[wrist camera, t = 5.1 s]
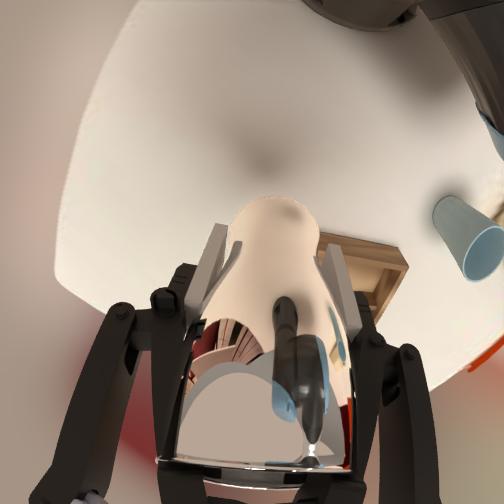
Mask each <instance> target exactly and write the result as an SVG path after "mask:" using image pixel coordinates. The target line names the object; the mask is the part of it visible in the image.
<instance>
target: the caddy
mask: <svg viewBox="0 0 504 504" xmlns="http://www.w3.org/2000/svg"><path fill="white" fill-rule="evenodd" d="M319 233H320V242H319V249H318V260H319V264H320V267H321V264H322V261H323V258H324V255H325V252H326V250H327V247H328V244H329V243H331V244H336V245H340V247H341V250H342V253H343V256H344V260H345V263H346V266H347V270H348V273H349V277H350V280H351V284H352V287H353V291H360V292H363V294H364V295H365V296H366V298H367V299H368V303H369V307H370V309H371V313H372V316H373V320H374V323H375V325H376V324H377V322H378V321H379V319H380V317H381V316H382V314H383V313H384V311H385V309H386V308H387V306H388V304H389V303H390V301H391V299H392V298H393V296H394V294H395V292H396V291H397V289H398V287H399V285H400V283H401V282H402V280H403V278H404V276H405V274H406V272H407V270H408V269H409V266H408V264H407V262H406V260H405V259H404V257H403V255H402V254H401V252H400V250H399V249H398V248H397V247H392V246H388V245H383V244H378V243H373V242H369V241H364V240H359V239H354V238H349V237H344V236H339V235H333V234H328V233H323V232H319Z"/></svg>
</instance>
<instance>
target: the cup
mask: <svg viewBox="0 0 504 504" xmlns="http://www.w3.org/2000/svg"><path fill="white" fill-rule="evenodd" d="M433 223H434V225H435V227H436V229H437V230H438V232H439V233H440V235H441V237H442V238H443V240H444V241H445V243H446V245H447V246H448V248H449V250H450V251H451V253H452V255H453V257H454V258H455V260H456V262H457V264H458V266H459V268H460V269H461V271H462V273H463V275H464V277H465V278H466V279H467V280H468V281H470V282H478V281H481V280H484V279H486V278H487V277H489V276H490V275H491V274H492V273H493V272H494V271H495V270H496V269H497V268H498V266H499V265H500V264H501V262H502V260H503V258H504V228H503V227H501V226H500V225H499V224H497V223H496V222H494V221H493V220H491V219H489V218H488V217H486V216H485V215H483V214H482V213H480V212H479V211H477V210H476V209H474V208H473V207H471V206H469V205H468V204H466V203H465V202H463V201H461V200H460V199H458V198H456V197H454V196H447V197H445V198H443V199H442V200H440V201H439V203H438V204H437V205H436V207H435V209H434V212H433Z"/></svg>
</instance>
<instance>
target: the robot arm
mask: <svg viewBox="0 0 504 504" xmlns="http://www.w3.org/2000/svg"><path fill="white" fill-rule="evenodd" d="M303 1H304V2H305V3H306V4H307V5H308V6H309V7H310V8H312V9H313V10H314V11H316V12H317V13H319V14H320V15H322V16H324V17H325V18H327V19H329V20H331V21H333V22H335V23H338V24H340V25H343V26H346V27H349V28H352V29H356V30H362V31H370V32H381V31H388V30H392V29H395V28H397V27H400V26H402V25H405V24H407V23H408V22H410V21H411V20H412V19H414V18H415V17H416V15H417V14H418V13H419V11H420V9H422V11H423V12H424V13H425V14H426V16H427V17H428V19H429V20H430V22H431V23H432V25H433V26H434V27H435V29H436V30H437V32H438V33H439V35H440V36H441V38H442V39H443V41H444V42H445V44H446V45H447V47H448V49H449V50H450V52H451V54H452V55H453V57H454V59H455V60H456V62H457V64H458V66H459V68H460V69H461V71H462V73H463V75H464V77H465V79H466V81H467V83H468V85H469V87H470V89H471V91H472V93H473V95H474V98H475V100H476V102H475V104H476V107H477V110H478V112H479V114H480V116H481V118H482V119H483V121H484V122H485V124H486V126H487V128H488V131H489V133H490V135H491V138H492V141H493V143H494V146H495V148H496V150H497V152H498V154H499V155H500V157H501V158H502V159H503V161H504V0H303ZM227 228H228V225H223V224H217V223H215V226H214V228H213V230H212V233H211V235H210V237H209V240H208V242H207V244H206V247H205V249H204V252H203V254H202V256H201V259H200V261H199V264H198V266H197V265H192V264H186V263H183V264H182V265H180V266H179V267H178V268H177V269H176V271H175V273H174V276H173V277H172V279H171V281H170V284H169V286H168V287H163V288H159V289H157V290H155V291H154V292H153V293H152V294H151V297H150V301H151V307H152V308H151V309H143V310H135V309H134V307H133V306H132V305H131V304H129V303H127V302H119V303H116V304H114V305H113V306H111V308H110V309H109V310H108V312H107V314H106V317H105V319H104V321H103V323H102V325H101V327H100V329H99V332H98V334H97V336H96V338H95V341H94V343H93V345H92V347H91V350H90V352H89V355H88V357H87V359H86V362H85V364H84V367H83V369H82V372H81V375H80V377H79V379H78V382H77V385H76V387H75V390H74V393H73V396H72V398H71V401H70V404H69V407H68V410H67V413H66V416H65V420H64V423H63V426H62V429H61V432H60V436H59V439H58V443H57V447H56V450H55V455H54V458H53V462H52V465H51V467H50V468H49V469H48V471H47V472H46V473H45V475H44V476H43V478H42V479H41V480H40V482H39V483H38V485H37V486H36V487H35V489H34V490H33V492H32V493H31V494H30V497H29V504H108V503H107V502H106V501H105V500H104V497H105V495H106V493H107V490H108V488H109V485H110V481H111V476H112V471H113V466H114V461H115V456H116V451H117V446H118V442H119V437H120V433H121V429H122V425H123V420H124V416H125V412H126V408H127V405H128V401H129V397H130V393H131V390H132V386H133V383H134V379H135V375H136V372H137V369H138V365H139V362H140V358H141V356H142V352H143V351H150V350H151V373H152V399H153V417H154V430H155V441H156V451H157V459H158V456H159V453H160V449H161V444H162V438H163V432H164V426H165V419H166V413H167V407H168V402H169V397H170V392H171V387H172V382H173V378H174V374H175V371H176V367H177V363H178V360H179V356H180V352H181V350H182V347H183V344H184V337H185V334H187V331H188V329H189V327H190V325H191V323H192V321H193V319H194V317H195V315H196V313H197V311H198V309H199V307H200V306H201V304H202V302H203V300H204V298H205V297H206V295H207V293H208V292H209V290H210V288H211V287H212V285H213V283H214V282H215V280H216V278H217V277H218V275H219V274H220V272H221V270H222V266H223V263H224V256H225V246H226V237H227ZM321 269H322V272H323V274H324V276H325V278H326V280H327V283H328V285H329V287H330V289H331V291H332V293H333V296H334V298H335V300H336V302H337V305H338V307H339V309H340V312H341V314H342V317H343V320H344V323H345V326H346V329H347V331H348V334H349V337H350V342H351V346H352V351H353V356H354V361H355V366H356V373H357V382H358V392H359V410H360V440H359V472H360V475H359V476H358V477H355V478H351V477H349V476H348V475H341V474H308V475H307V478H306V480H305V482H304V483H303V485H302V486H301V487H300V488H299V490H298V491H297V493H296V495H295V498H294V500H293V502H292V503H280V504H363V501H364V498H365V494H366V490H367V487H366V484H365V482H364V481H363V478H364V473H365V470H366V466H367V462H368V459H369V454H370V450H371V446H372V442H373V437H374V432H375V427H376V422H377V417H378V419H379V442H380V483H379V504H442V503H441V500H440V497H439V470H438V455H437V445H436V436H435V427H434V421H433V414H432V408H431V402H430V397H429V391H428V386H427V382H426V377H425V373H424V368H423V364H422V360H421V356H420V353H419V351H418V349H417V348H416V347H415V346H413V345H411V344H408V343H407V344H403V345H401V347H400V348H397V347H394V346H391V345H389V344H387V343H386V341H385V339H384V337H383V336H382V335H381V334H380V333H378V332H377V331H376V327H375V323H374V320H373V316H372V313H371V309H370V307H369V303H368V299H367V298H366V296H365V295H364V294H363V292H360V291H353V287H352V284H351V280H350V277H349V273H348V270H347V266H346V263H345V260H344V256H343V253H342V250H341V247H340V245H336V244H331V243H329V244H328V247H327V250H326V252H325V255H324V258H323V261H322V264H321ZM157 477H158V485H159V492H160V497H161V503H162V504H246V503H243V502H240V501H237V500H232V499H224V498H218V497H211V496H208V497H207V496H206V491H205V487H204V482H203V477H202V472H201V467H200V466H197V465H188V464H178V463H163V462H160V461H158V470H157Z"/></svg>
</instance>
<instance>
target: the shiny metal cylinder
mask: <svg viewBox="0 0 504 504" xmlns="http://www.w3.org/2000/svg"><path fill="white" fill-rule="evenodd" d="M229 240H230V253H229V257H228V259H227V262H226V263H225V265H224V267H223V269H222V270H221V272H220V274H219V275H218V277H217V278H216V280H215V282H214V283H213V285H212V287H211V288H210V290H209V292H208V293H207V295H206V297H205V298H204V300H203V302H202V304H201V306H200V307H199V309H198V311H197V313H196V315H195V317H194V319H193V321H192V323H191V325H190V327H189V329H188V331H187V334H186V337H185V339H184V344H183V347H182V350H181V352H180V356H179V360H178V363H177V367H176V371H175V374H174V378H173V382H172V387H171V392H170V397H169V402H168V407H167V413H166V419H165V426H164V432H163V438H162V444H161V449H160V453H159V456H158V459H157V457H156V459H155V462H156V463H157V464H158V461H160V462H163V463H178V464H188V465H197V466H200V467H201V472H202V477H203V482H208V483H213V484H218V485H224V486H230V487H237V488H247V489H260V490H298V489H299V488H300V487H301V486H302V485H303V483H304V482H305V480H306V478H307V475H308V474H341V475H348V476H349V477H351V478H355V477H358V476H359V475H360V472H359V440H360V410H359V392H358V382H357V373H356V366H355V361H354V356H353V351H352V346H351V342H350V337H349V334H348V331H347V329H346V326H345V323H344V320H343V317H342V314H341V312H340V309H339V307H338V305H337V302H336V300H335V298H334V296H333V293H332V291H331V289H330V287H329V285H328V283H327V280H326V278H325V276H324V274H323V272H322V269H321V267H320V264H319V260H318V249H319V242H320V233H319V227H318V224H317V222H316V220H315V218H314V216H313V215H312V213H311V212H310V211H309V210H308V209H307V208H306V207H305V206H303V205H302V204H300V203H299V202H297V201H295V200H292V199H290V198H286V197H280V196H268V197H262V198H259V199H256V200H254V201H252V202H250V203H248V204H247V205H245V206H244V207H243V208H242V209H241V210H240V211H239V212H238V213H237V215H236V216H235V218H234V220H233V222H232V225H231V228H230V237H229Z"/></svg>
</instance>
